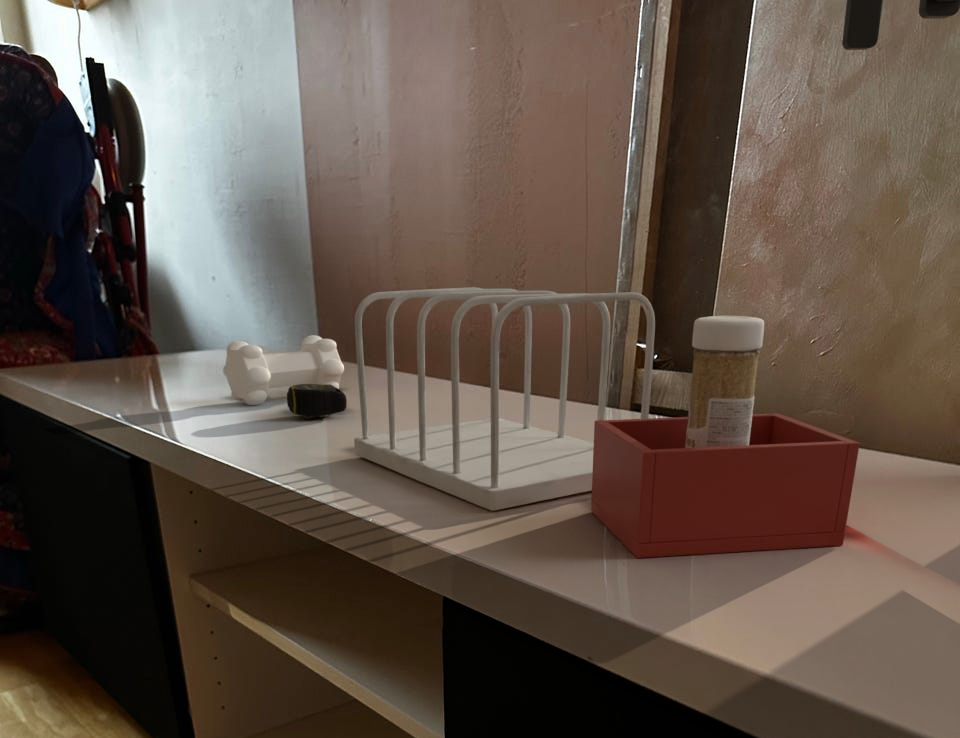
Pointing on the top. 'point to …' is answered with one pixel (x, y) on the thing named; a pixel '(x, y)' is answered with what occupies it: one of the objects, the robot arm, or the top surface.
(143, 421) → the top surface
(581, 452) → the file sorter
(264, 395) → the bone shaped toy
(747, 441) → the sprinkles bottle
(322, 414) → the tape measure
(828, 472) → the red storage bin
